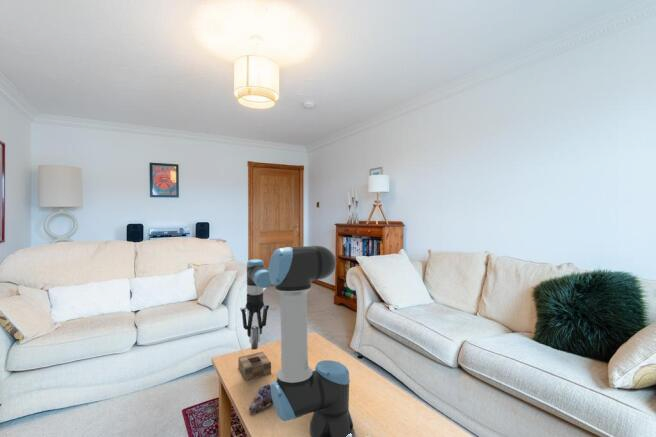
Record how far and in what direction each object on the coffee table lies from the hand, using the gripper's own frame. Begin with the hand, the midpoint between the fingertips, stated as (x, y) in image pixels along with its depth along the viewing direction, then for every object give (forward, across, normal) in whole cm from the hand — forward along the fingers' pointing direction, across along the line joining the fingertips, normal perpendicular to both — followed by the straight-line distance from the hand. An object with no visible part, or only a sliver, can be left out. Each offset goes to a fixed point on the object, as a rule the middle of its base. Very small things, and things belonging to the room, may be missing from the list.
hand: (254, 341), depth 144 cm
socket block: (+14, 0, 0) cm, 14 cm away
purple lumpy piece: (+14, +5, +26) cm, 30 cm away
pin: (+3, 0, 0) cm, 3 cm away
